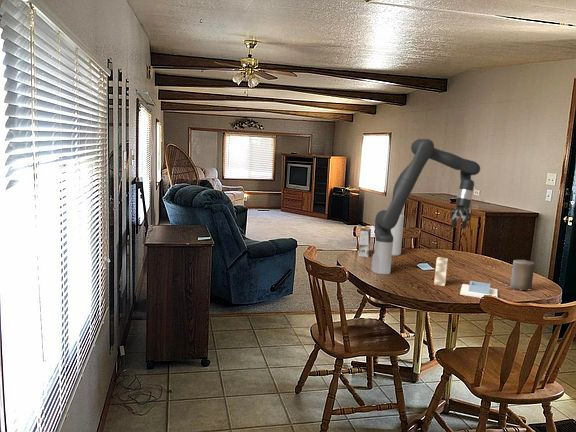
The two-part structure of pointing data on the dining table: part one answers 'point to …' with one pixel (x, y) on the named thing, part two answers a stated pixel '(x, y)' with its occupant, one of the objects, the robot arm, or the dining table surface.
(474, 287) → the sleeve holder
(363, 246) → the coffee box
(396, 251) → the cylinder vase
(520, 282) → the pillar candle
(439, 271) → the birch post
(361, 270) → the dining table surface
